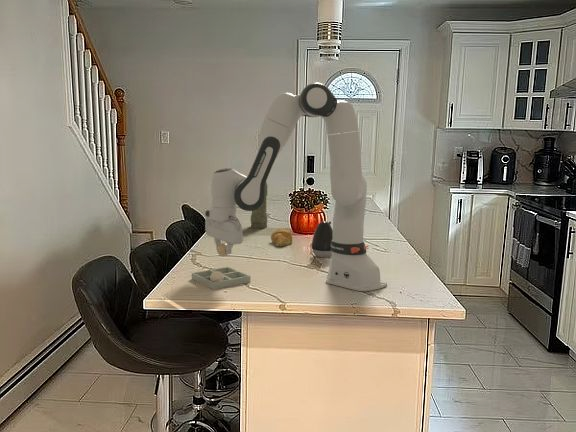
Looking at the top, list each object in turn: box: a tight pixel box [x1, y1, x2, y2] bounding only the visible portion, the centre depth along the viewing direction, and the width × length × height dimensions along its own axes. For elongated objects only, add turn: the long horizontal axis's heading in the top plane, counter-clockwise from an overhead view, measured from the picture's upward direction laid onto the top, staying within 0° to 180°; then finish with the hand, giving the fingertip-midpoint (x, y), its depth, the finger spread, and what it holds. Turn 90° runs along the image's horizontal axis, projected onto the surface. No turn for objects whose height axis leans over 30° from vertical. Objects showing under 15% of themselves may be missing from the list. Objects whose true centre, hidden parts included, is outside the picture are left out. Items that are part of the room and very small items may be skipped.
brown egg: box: [216, 242, 229, 257], centre depth 198 cm, size 5×5×5 cm
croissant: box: [270, 228, 293, 247], centre depth 260 cm, size 21×10×8 cm, turn 176°
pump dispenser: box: [311, 220, 333, 259], centre depth 234 cm, size 10×10×15 cm
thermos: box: [250, 181, 268, 229], centre depth 296 cm, size 9×12×35 cm
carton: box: [191, 266, 251, 290], centre depth 195 cm, size 15×15×3 cm
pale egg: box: [210, 271, 224, 282], centre depth 189 cm, size 5×5×5 cm
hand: (223, 252), depth 199 cm, fingers closed on brown egg, 5 cm apart
